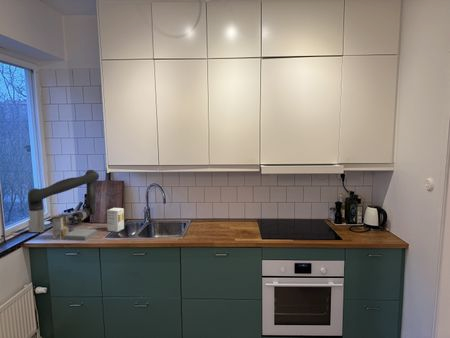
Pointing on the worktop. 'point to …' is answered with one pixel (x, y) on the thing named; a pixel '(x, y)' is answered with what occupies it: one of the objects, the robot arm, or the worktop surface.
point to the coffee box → (60, 226)
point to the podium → (80, 234)
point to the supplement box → (115, 219)
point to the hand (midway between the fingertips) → (66, 221)
